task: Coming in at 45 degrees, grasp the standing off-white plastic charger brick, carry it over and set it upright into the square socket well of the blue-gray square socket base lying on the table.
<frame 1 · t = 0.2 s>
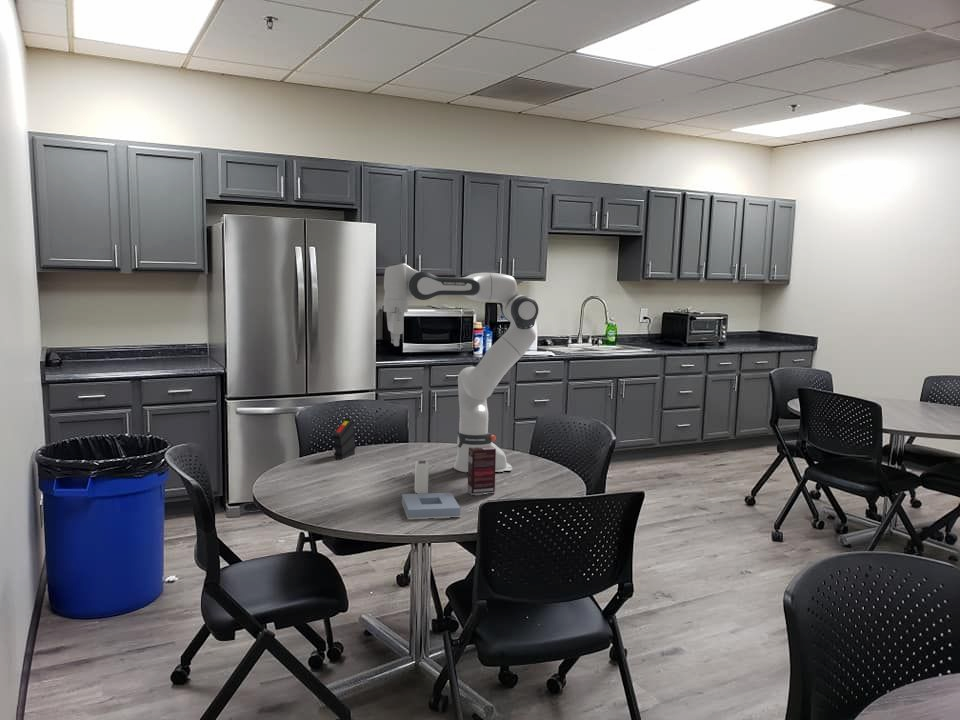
hand: (395, 344, 265), 48 cm above the table, tool pointing down, fingers open, 8 cm apart
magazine: (343, 457, 288), on the table
supplement box: (480, 493, 246), on the table
blue-gray square socket base: (430, 510, 226), on the table
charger: (421, 491, 245), on the table
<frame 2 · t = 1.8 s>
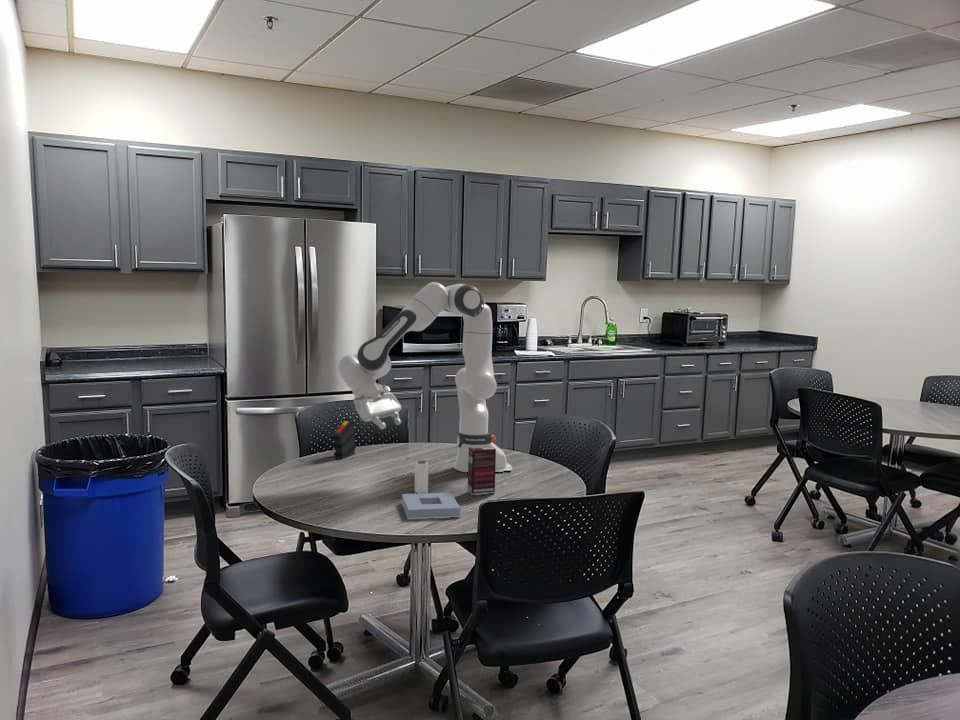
hand: (391, 425, 248), 21 cm above the table, tool tilted 45°, fingers open, 8 cm apart
nothing on the table moved.
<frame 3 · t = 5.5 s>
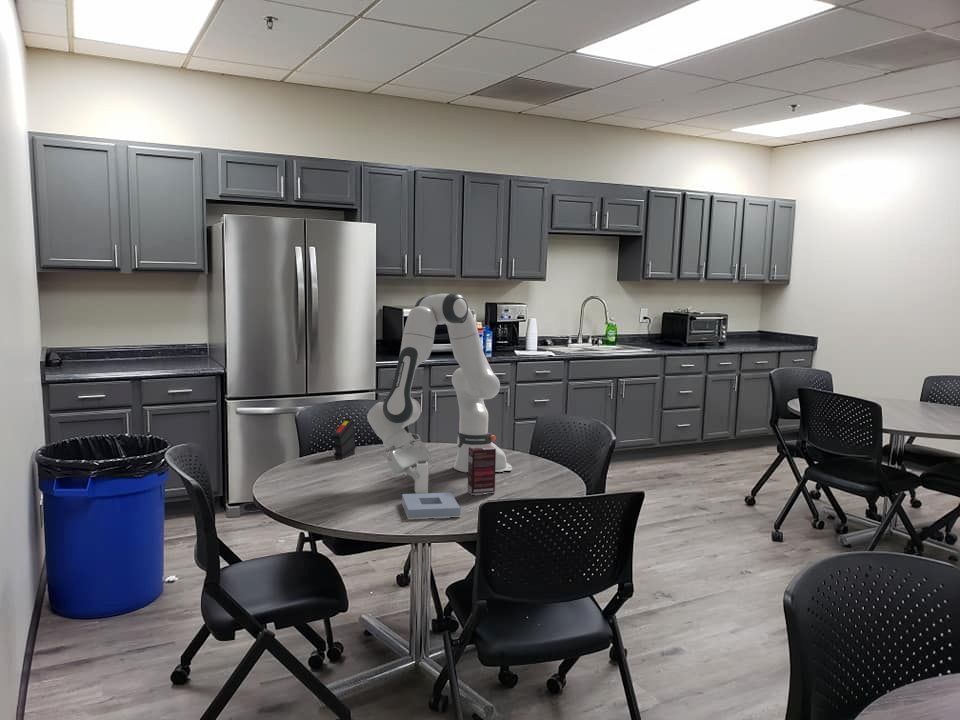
hand: (423, 476, 244), 5 cm above the table, tool tilted 45°, fingers closed on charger, 6 cm apart
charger: (421, 491, 245), on the table, touching gripper
everything else where it was.
when the fingers open (7 cm above the table, at t = 11.5 s): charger drops 1 cm, resting on blue-gray square socket base.
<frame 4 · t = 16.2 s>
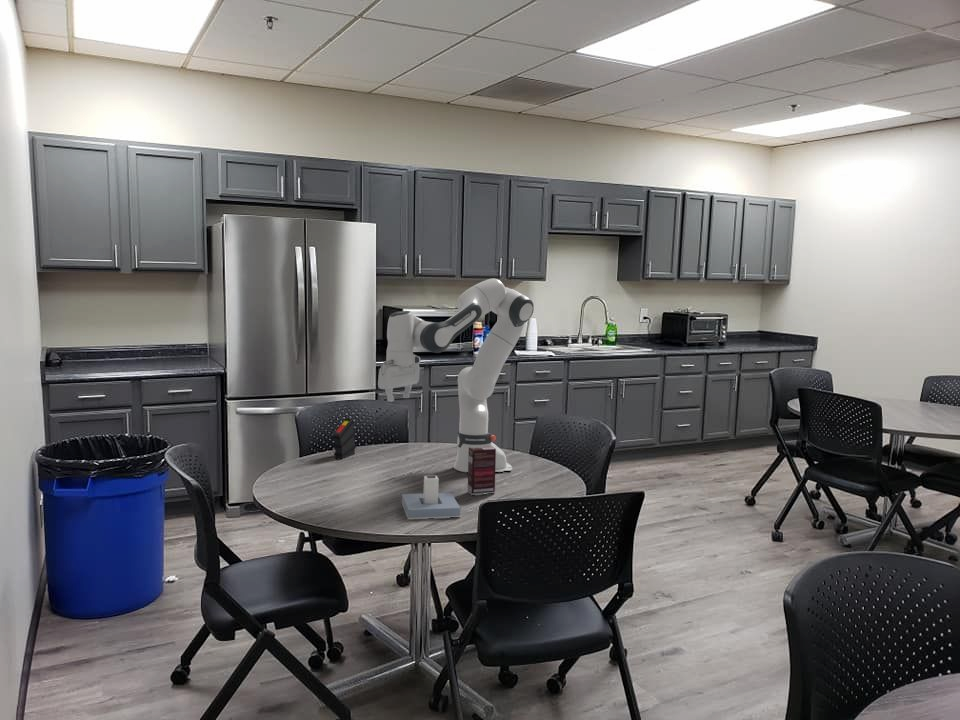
hand: (398, 399, 244), 31 cm above the table, tool pointing down, fingers open, 8 cm apart
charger: (430, 508, 226), resting on blue-gray square socket base
everything else where it was.
at the end: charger 0.1 cm off-centre on the blue-gray square socket base, point 0.5 cm above the blue-gray square socket base's base; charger tilted 0°; the gripper is holding nothing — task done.
